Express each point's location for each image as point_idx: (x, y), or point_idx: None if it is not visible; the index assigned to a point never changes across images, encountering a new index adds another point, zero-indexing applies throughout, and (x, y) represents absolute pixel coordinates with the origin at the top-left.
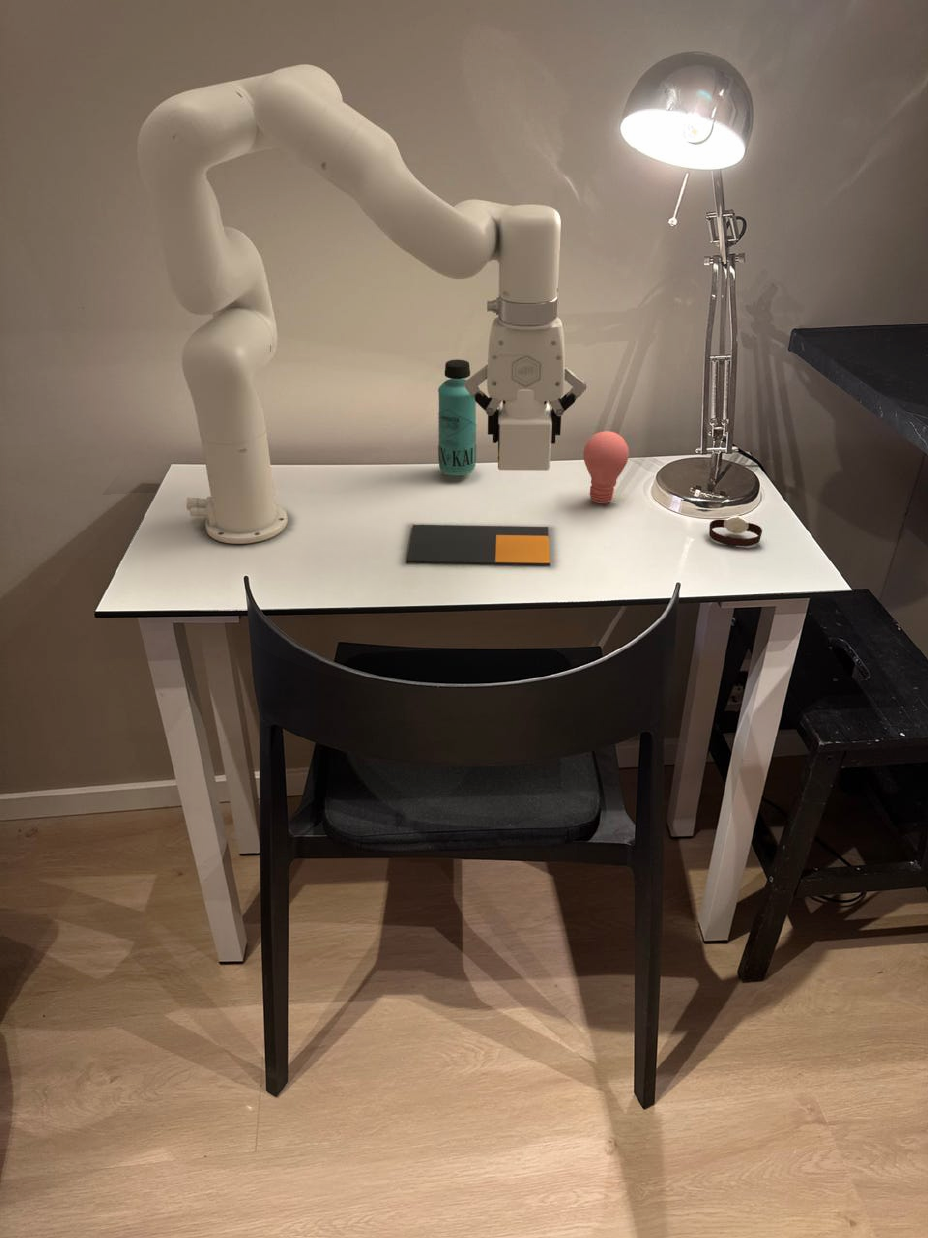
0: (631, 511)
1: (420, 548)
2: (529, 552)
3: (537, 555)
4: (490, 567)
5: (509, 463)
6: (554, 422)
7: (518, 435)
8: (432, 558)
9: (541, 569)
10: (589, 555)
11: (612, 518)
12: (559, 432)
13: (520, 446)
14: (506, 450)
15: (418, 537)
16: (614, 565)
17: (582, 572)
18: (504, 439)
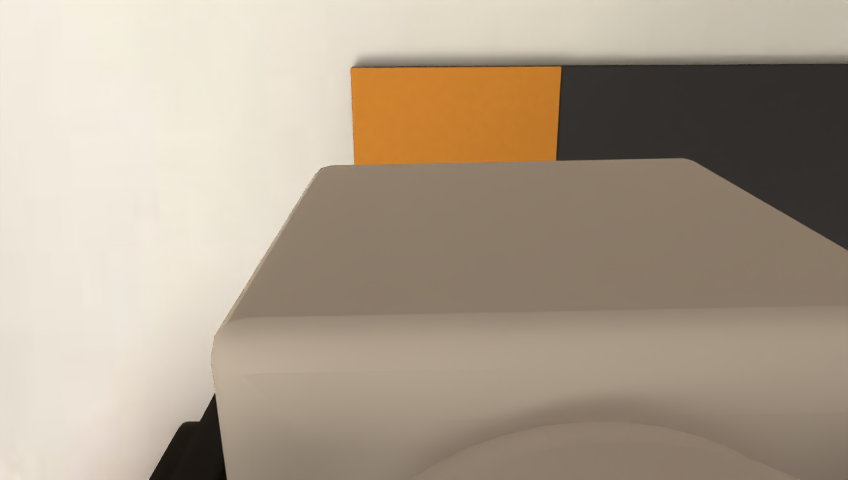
0: (79, 450)
1: (837, 156)
2: (429, 141)
3: (399, 119)
4: (577, 44)
5: (628, 167)
6: (197, 459)
7: (630, 252)
8: (799, 84)
9: (384, 37)
10: (208, 149)
11: (140, 404)
12: (187, 431)
13: (574, 214)
14: (695, 200)
15: (836, 236)
16: (112, 80)
17: (228, 21)
18: (769, 233)
